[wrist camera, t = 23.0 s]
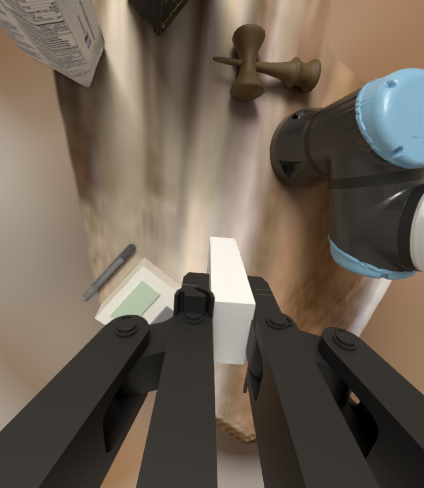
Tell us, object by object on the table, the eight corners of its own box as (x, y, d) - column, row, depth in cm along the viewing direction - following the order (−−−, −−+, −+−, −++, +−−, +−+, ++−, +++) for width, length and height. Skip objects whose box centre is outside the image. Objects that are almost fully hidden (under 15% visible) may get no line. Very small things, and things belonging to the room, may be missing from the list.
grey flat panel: (234, 325, 53) (236, 328, 52) (193, 370, 53) (195, 375, 51) (131, 242, 44) (130, 243, 42) (81, 296, 44) (79, 299, 42)
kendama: (301, 110, 47) (207, 97, 42) (305, 58, 46) (208, 37, 41) (323, 97, 42) (217, 81, 36) (328, 37, 40) (218, 10, 35)
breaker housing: (221, 318, 52) (231, 335, 45) (185, 358, 52) (190, 381, 45) (144, 257, 45) (142, 266, 39) (102, 302, 45) (93, 320, 38)
